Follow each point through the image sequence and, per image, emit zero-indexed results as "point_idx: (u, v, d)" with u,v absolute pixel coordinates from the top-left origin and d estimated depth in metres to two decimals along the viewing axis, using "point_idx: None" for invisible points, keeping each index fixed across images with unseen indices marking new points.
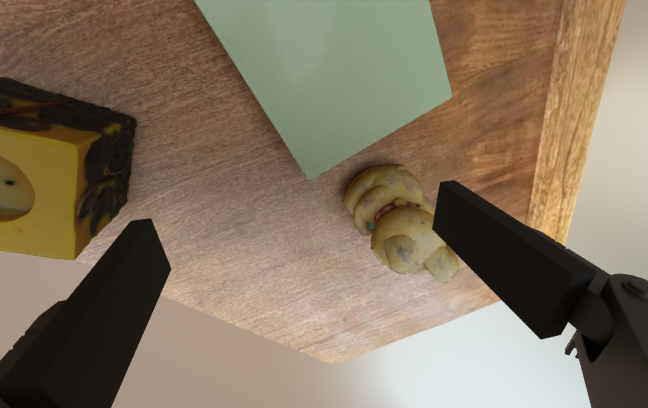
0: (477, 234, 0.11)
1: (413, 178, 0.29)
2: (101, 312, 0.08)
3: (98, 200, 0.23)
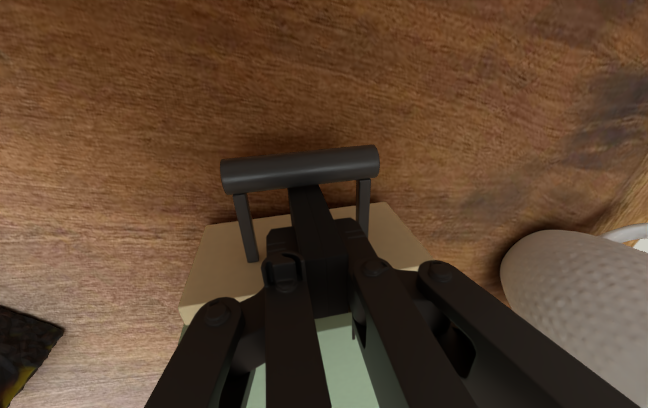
0: None
1: None
2: None
3: None
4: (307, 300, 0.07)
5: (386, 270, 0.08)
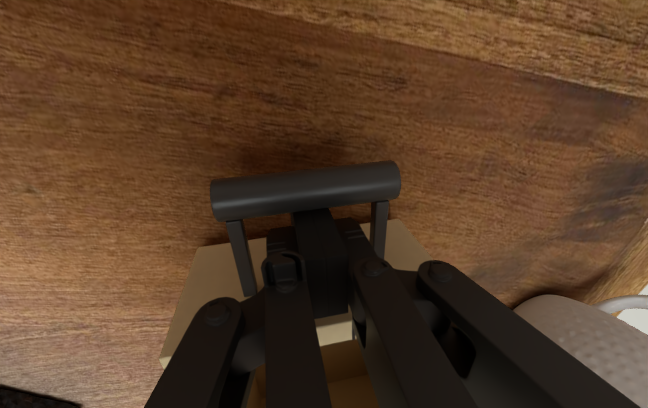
0: None
1: None
2: None
3: None
4: (307, 300, 0.07)
5: (386, 270, 0.08)
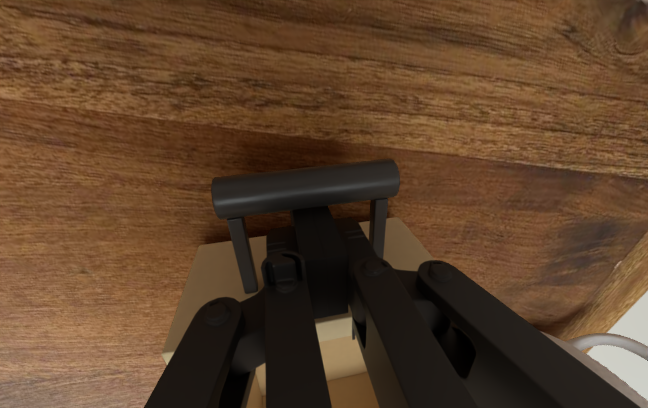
0: None
1: None
2: None
3: None
4: (307, 300, 0.07)
5: (386, 270, 0.08)
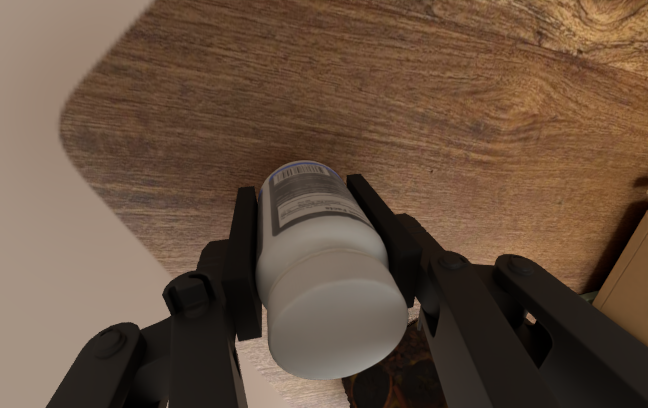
0: None
1: None
2: (252, 245, 0.10)
3: None
4: (220, 321, 0.07)
5: (465, 266, 0.08)
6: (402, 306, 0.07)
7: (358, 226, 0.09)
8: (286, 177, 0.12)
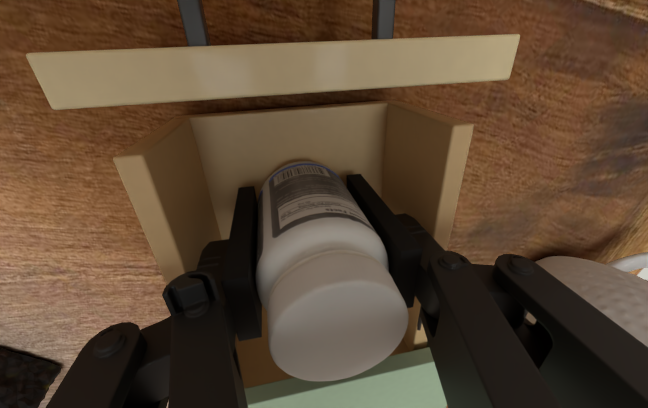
0: None
1: None
2: (252, 245, 0.10)
3: None
4: (220, 321, 0.07)
5: (465, 266, 0.08)
6: (402, 308, 0.07)
7: (358, 227, 0.09)
8: (286, 178, 0.12)
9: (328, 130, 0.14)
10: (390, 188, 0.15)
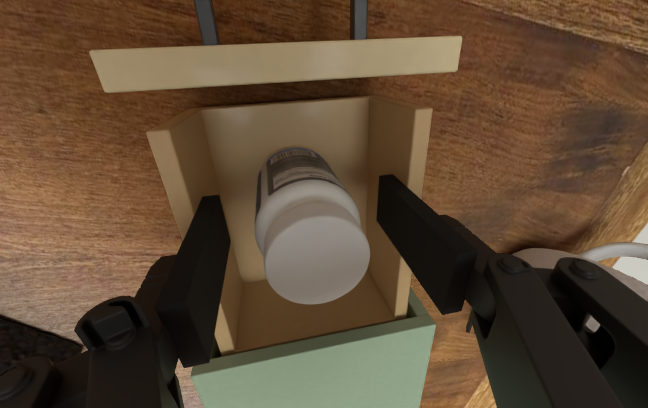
0: (402, 222, 0.12)
1: None
2: (204, 262, 0.09)
3: None
4: (148, 349, 0.06)
5: (527, 271, 0.08)
6: (364, 241, 0.10)
7: (334, 187, 0.11)
8: (280, 158, 0.15)
9: (319, 121, 0.16)
10: (374, 172, 0.17)
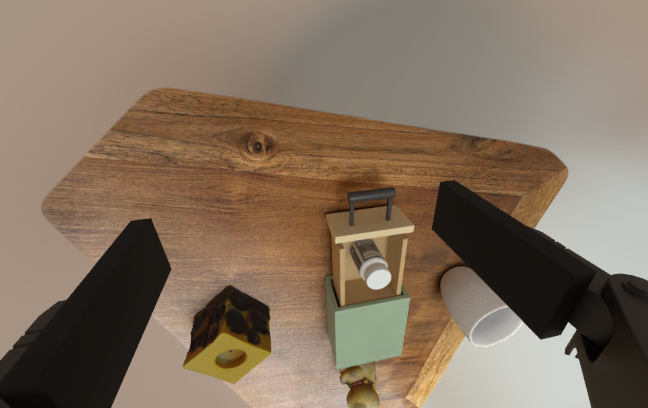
0: (477, 234, 0.11)
1: (373, 365, 0.61)
2: (101, 312, 0.08)
3: None
4: None
5: None
6: (390, 274, 0.42)
7: (381, 259, 0.43)
8: (361, 244, 0.46)
9: None
10: (390, 245, 0.48)
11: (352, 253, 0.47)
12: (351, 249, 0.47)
